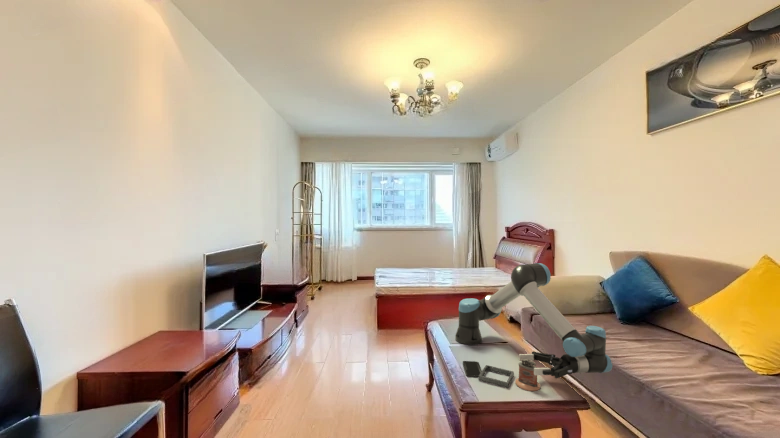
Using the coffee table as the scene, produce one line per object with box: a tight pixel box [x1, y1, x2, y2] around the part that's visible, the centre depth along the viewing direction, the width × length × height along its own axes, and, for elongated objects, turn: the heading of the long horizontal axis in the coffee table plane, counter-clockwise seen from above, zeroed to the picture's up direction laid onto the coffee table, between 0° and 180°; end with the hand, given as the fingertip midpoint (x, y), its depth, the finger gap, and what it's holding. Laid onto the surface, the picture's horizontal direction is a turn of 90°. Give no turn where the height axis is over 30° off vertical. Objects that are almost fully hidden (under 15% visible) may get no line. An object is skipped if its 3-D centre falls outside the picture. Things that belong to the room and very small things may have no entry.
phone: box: [462, 360, 483, 379], centre depth 158 cm, size 8×1×15 cm
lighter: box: [518, 359, 538, 387], centre depth 145 cm, size 8×3×10 cm, turn 45°
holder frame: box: [478, 364, 515, 389], centre depth 150 cm, size 13×13×2 cm
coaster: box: [514, 377, 541, 392], centre depth 145 cm, size 10×10×1 cm
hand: (526, 364), depth 144 cm, fingers open, 13 cm apart
